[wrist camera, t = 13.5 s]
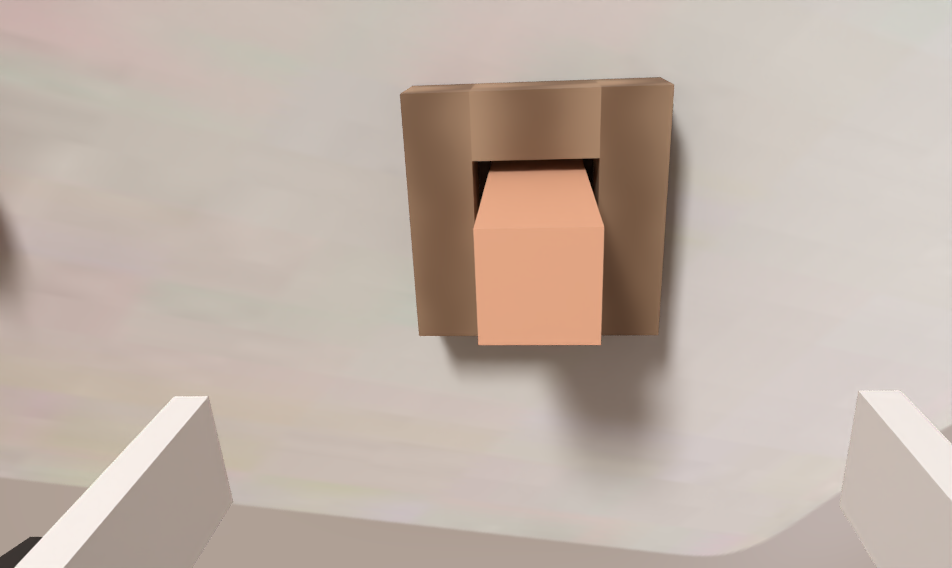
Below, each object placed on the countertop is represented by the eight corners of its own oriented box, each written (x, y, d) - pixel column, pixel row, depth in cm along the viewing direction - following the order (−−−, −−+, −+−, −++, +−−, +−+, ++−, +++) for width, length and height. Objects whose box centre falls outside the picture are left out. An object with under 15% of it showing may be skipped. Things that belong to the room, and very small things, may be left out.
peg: (581, 157, 34) (604, 226, 23) (580, 242, 36) (600, 344, 25) (492, 159, 35) (473, 229, 24) (494, 243, 37) (478, 345, 25)
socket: (660, 77, 33) (674, 84, 30) (647, 306, 37) (658, 335, 34) (412, 85, 34) (399, 94, 31) (428, 308, 38) (419, 335, 35)
